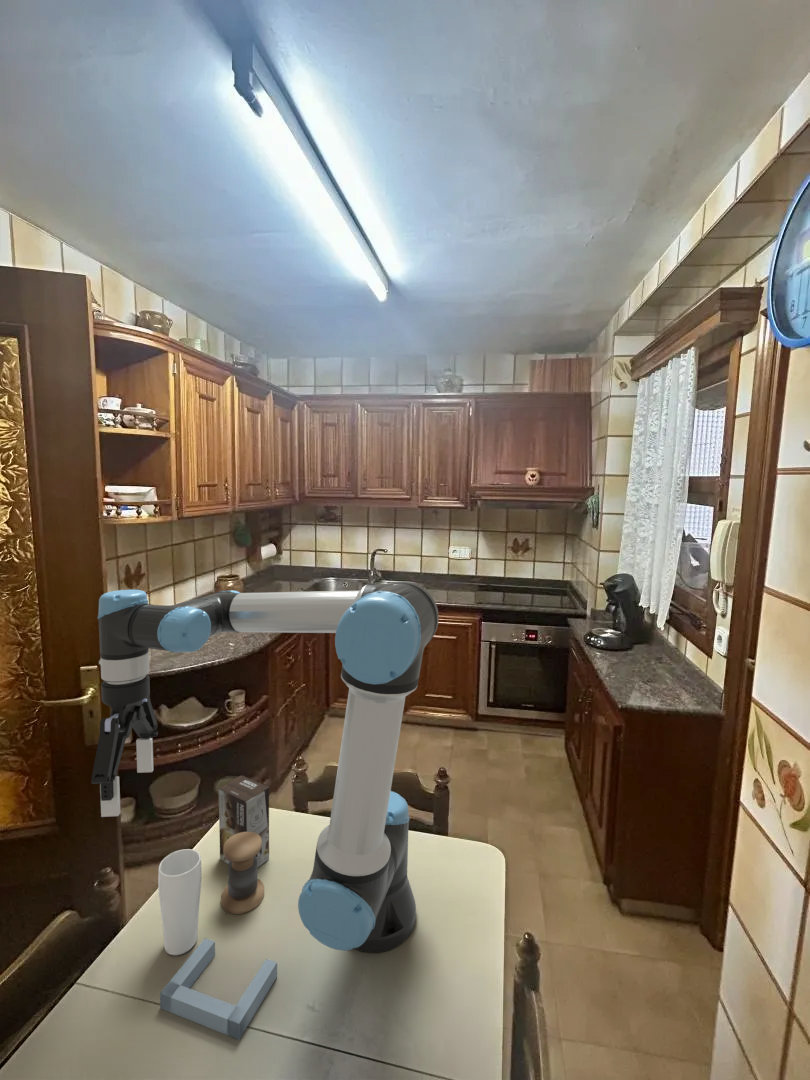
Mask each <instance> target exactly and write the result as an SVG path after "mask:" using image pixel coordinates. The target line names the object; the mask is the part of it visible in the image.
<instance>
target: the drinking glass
mask: <svg viewBox="0 0 810 1080" xmlns="http://www.w3.org/2000/svg"><path fill="white" fill-rule="evenodd" d="M202 872H203V871H202V856H201V854H200V852H199V851H198V850H195V849H192V848H186V849H179V850H175V851H172V852H171V853H169V854H168V855H166V856H165V857H164V858H163V859H162V860H161V861H160V863H159V865H158V879H157V881H158V882H157V887H158V888H157V889H158V897H159V898H158V899H159V907H160V914H161V916H160V917H161V922H162V931H163V946H164V951H165V952H166V953H167V954H168V955H171V956H180V955H183V954H186V953H187V952H189V951H190V950H191V949H192V948H193V947H194V946H195V944H196V943H197V941H198V938H199V936H198V935H199V934H198V933H199V913H200V901H201V892H202Z"/></svg>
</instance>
